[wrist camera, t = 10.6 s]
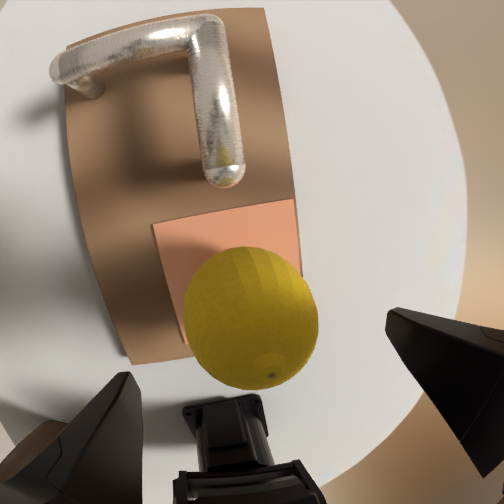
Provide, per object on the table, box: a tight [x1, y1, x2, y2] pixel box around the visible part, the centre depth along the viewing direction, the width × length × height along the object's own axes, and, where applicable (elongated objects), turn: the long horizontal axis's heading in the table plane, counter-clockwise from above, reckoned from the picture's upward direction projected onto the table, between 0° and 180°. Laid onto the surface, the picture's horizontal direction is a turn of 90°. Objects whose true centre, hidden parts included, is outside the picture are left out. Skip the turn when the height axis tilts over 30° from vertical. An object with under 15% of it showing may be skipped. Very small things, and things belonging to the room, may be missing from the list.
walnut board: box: [65, 8, 303, 365], centre depth 14 cm, size 21×12×1 cm, turn 8°
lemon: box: [183, 246, 318, 390], centre depth 12 cm, size 6×6×8 cm
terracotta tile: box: [153, 199, 301, 344], centre depth 15 cm, size 8×8×1 cm
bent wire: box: [49, 14, 246, 188], centre depth 10 cm, size 8×8×5 cm
